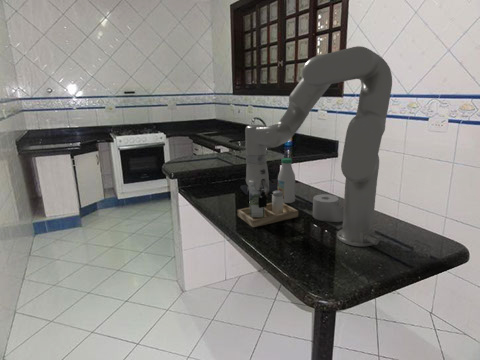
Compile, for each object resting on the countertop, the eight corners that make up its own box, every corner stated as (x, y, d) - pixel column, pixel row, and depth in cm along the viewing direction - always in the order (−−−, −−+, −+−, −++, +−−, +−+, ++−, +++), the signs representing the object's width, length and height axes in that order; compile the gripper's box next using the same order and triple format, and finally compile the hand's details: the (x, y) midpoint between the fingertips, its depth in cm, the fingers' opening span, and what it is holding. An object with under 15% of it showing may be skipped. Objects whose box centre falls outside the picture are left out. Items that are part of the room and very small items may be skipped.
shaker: (285, 214, 130) (285, 192, 127) (275, 216, 128) (276, 194, 125) (279, 211, 133) (279, 189, 131) (270, 213, 132) (270, 191, 129)
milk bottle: (294, 199, 150) (295, 156, 144) (295, 205, 142) (296, 160, 137) (277, 199, 150) (277, 156, 145) (277, 205, 143) (277, 160, 138)
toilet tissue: (348, 225, 121) (350, 203, 118) (312, 222, 124) (312, 201, 122) (347, 216, 129) (348, 195, 127) (312, 213, 132) (313, 193, 130)
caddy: (298, 219, 127) (298, 210, 126) (253, 229, 119) (252, 220, 118) (279, 208, 139) (279, 201, 138) (237, 218, 130) (237, 209, 129)
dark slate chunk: (237, 189, 169) (236, 180, 167) (276, 184, 175) (276, 175, 174) (247, 198, 155) (246, 188, 153) (289, 192, 161) (289, 183, 160)
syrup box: (264, 212, 129) (264, 177, 125) (264, 218, 123) (264, 181, 119) (250, 212, 129) (249, 177, 125) (249, 218, 124) (248, 181, 120)
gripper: (277, 161, 114) (277, 208, 119) (253, 153, 129) (254, 195, 134) (258, 164, 111) (259, 212, 116) (236, 156, 126) (238, 199, 131)
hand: (257, 203), depth 125 cm, fingers closed on syrup box, 7 cm apart
